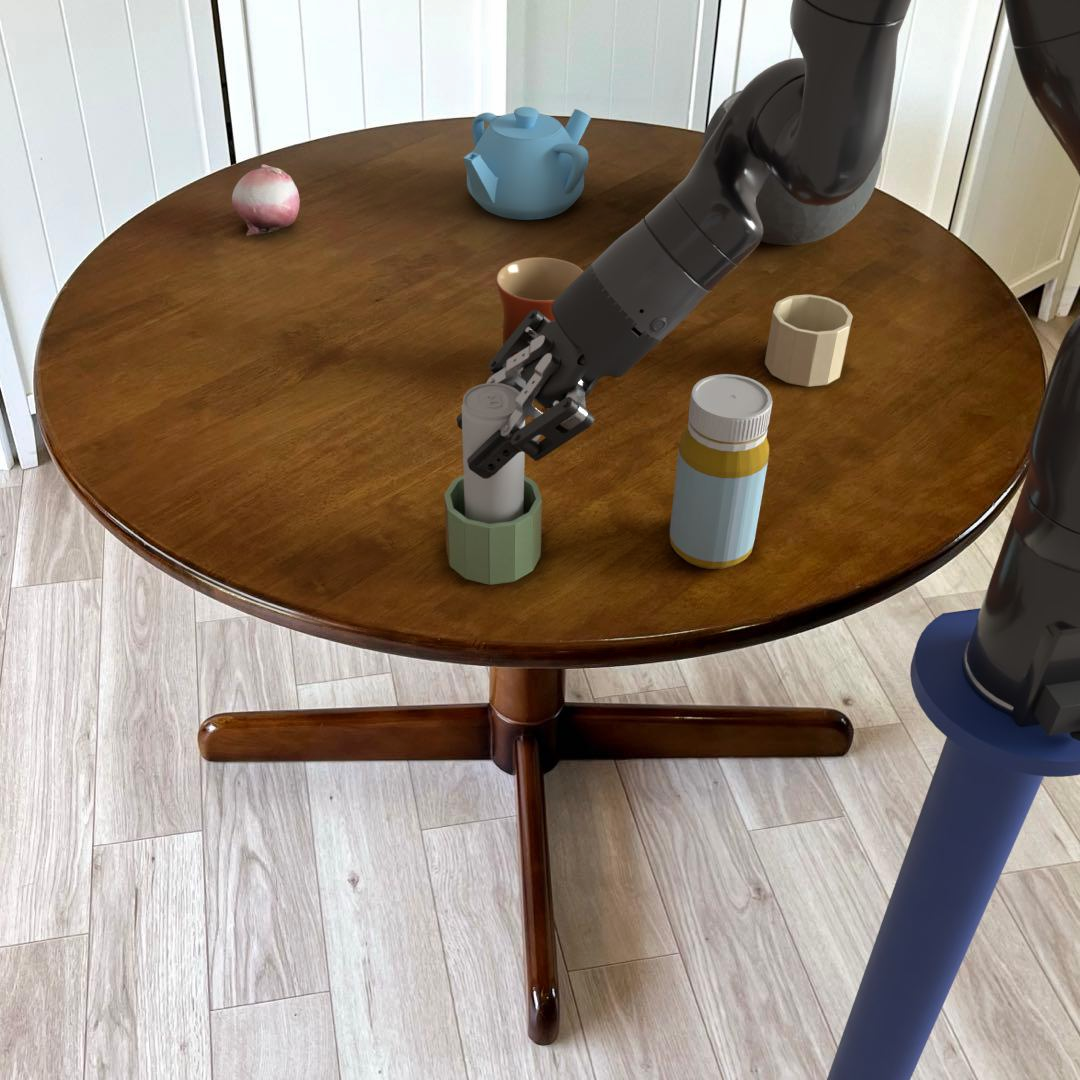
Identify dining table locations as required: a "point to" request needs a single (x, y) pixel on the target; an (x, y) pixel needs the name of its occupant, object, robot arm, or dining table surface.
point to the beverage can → (480, 421)
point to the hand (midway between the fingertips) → (470, 449)
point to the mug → (532, 288)
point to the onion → (266, 199)
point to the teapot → (527, 163)
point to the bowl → (798, 203)
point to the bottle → (721, 471)
